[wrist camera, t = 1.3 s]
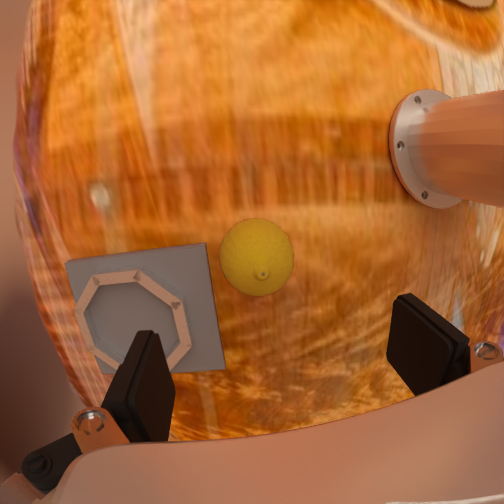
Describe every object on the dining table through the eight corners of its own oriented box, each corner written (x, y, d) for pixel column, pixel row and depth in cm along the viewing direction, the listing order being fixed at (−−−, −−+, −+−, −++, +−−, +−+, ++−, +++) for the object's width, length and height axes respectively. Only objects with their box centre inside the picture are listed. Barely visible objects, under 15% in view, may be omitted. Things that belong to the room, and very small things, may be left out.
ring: (178, 259, 25) (175, 265, 23) (199, 363, 28) (198, 372, 27) (70, 272, 24) (63, 277, 23) (103, 366, 27) (98, 375, 26)
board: (205, 242, 26) (204, 245, 25) (225, 363, 29) (225, 369, 28) (69, 260, 25) (64, 263, 24) (105, 368, 29) (102, 373, 28)
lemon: (275, 276, 27) (294, 318, 20) (215, 267, 26) (211, 306, 19) (289, 218, 26) (315, 239, 18) (226, 206, 25) (226, 222, 17)
